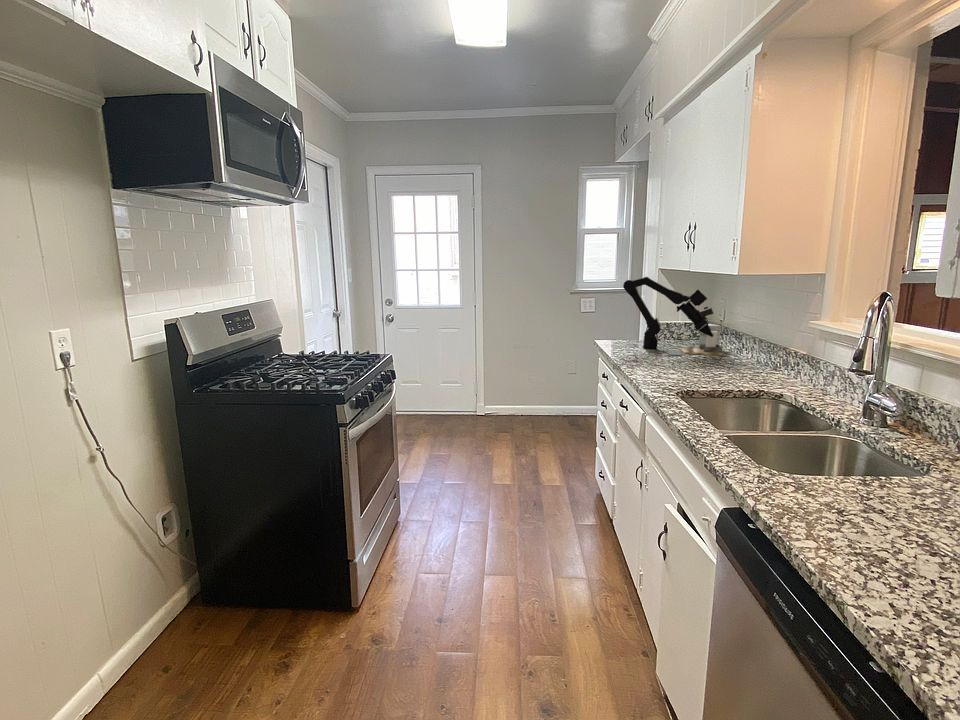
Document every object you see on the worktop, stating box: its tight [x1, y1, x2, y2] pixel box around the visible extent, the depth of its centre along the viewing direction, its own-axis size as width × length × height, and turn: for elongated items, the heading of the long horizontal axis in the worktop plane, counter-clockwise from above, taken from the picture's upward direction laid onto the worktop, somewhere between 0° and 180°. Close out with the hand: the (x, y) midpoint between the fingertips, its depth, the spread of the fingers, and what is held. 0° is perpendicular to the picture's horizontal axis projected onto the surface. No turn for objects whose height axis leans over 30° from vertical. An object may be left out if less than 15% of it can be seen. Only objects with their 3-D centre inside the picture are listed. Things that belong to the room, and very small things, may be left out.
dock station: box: [679, 343, 723, 356], centre depth 266 cm, size 19×13×4 cm
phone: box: [666, 349, 683, 357], centre depth 262 cm, size 6×12×1 cm, turn 164°
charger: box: [706, 331, 717, 347], centre depth 266 cm, size 5×4×10 cm
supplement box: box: [698, 323, 722, 348], centre depth 276 cm, size 7×7×13 cm
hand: (712, 335), depth 265 cm, fingers open, 9 cm apart
